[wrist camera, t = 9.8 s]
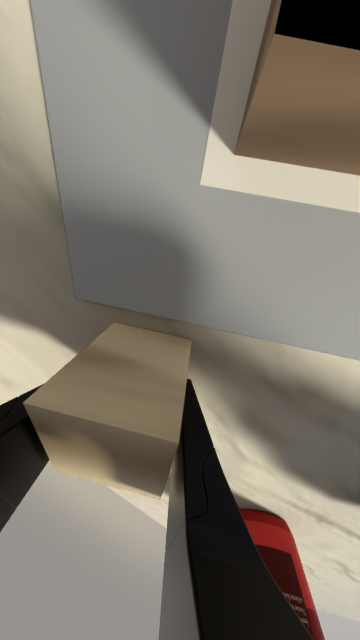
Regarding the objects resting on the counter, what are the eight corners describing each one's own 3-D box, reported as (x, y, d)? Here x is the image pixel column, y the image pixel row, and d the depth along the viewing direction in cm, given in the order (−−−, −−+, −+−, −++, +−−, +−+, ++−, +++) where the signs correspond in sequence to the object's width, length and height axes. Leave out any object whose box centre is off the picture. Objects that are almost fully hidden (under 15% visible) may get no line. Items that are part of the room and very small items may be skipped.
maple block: (178, 393, 11) (160, 500, 6) (115, 377, 11) (55, 470, 6) (192, 339, 9) (178, 443, 4) (114, 322, 9) (22, 402, 4)
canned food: (247, 534, 21) (283, 779, 12) (208, 511, 20) (212, 777, 10) (304, 532, 18) (418, 865, 8) (263, 504, 16) (350, 883, 7)
